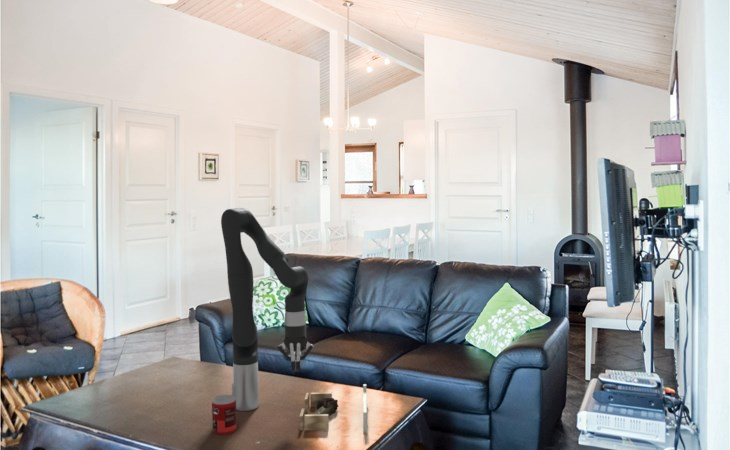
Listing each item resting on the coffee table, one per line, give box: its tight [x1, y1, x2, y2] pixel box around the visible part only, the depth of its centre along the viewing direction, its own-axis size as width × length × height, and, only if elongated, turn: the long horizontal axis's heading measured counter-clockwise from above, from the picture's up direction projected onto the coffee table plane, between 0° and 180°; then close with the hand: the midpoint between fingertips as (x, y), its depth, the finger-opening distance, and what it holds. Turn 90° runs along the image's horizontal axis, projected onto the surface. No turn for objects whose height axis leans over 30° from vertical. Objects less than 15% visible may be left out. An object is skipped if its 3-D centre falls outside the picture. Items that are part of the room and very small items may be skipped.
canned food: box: [211, 394, 237, 436], centre depth 187 cm, size 8×8×11 cm
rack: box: [362, 383, 368, 434], centre depth 197 cm, size 1×28×7 cm, turn 0°
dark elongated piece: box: [310, 397, 339, 416], centre depth 197 cm, size 18×7×6 cm, turn 158°
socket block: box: [299, 391, 333, 431], centre depth 197 cm, size 10×22×5 cm, turn 0°
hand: (296, 370), depth 196 cm, fingers closed
